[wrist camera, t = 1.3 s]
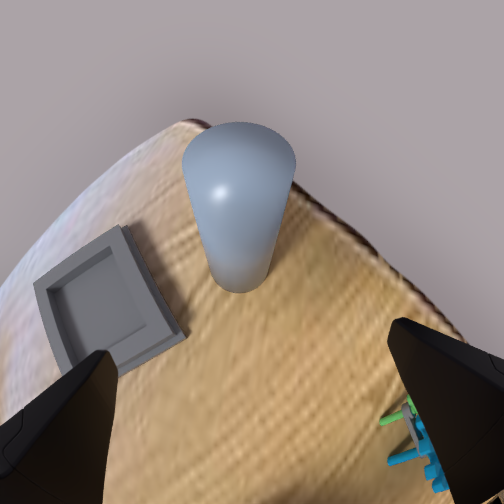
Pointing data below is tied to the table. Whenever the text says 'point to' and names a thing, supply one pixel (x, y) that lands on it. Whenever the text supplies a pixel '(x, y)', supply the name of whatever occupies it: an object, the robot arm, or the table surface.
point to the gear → (417, 445)
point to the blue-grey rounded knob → (238, 198)
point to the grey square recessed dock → (105, 305)
